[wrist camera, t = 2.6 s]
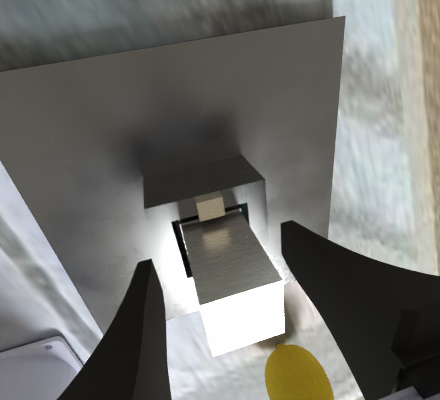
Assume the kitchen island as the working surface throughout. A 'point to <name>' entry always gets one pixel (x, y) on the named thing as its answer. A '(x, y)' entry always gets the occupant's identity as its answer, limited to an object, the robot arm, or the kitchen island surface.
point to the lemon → (296, 375)
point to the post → (233, 281)
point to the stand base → (173, 151)
